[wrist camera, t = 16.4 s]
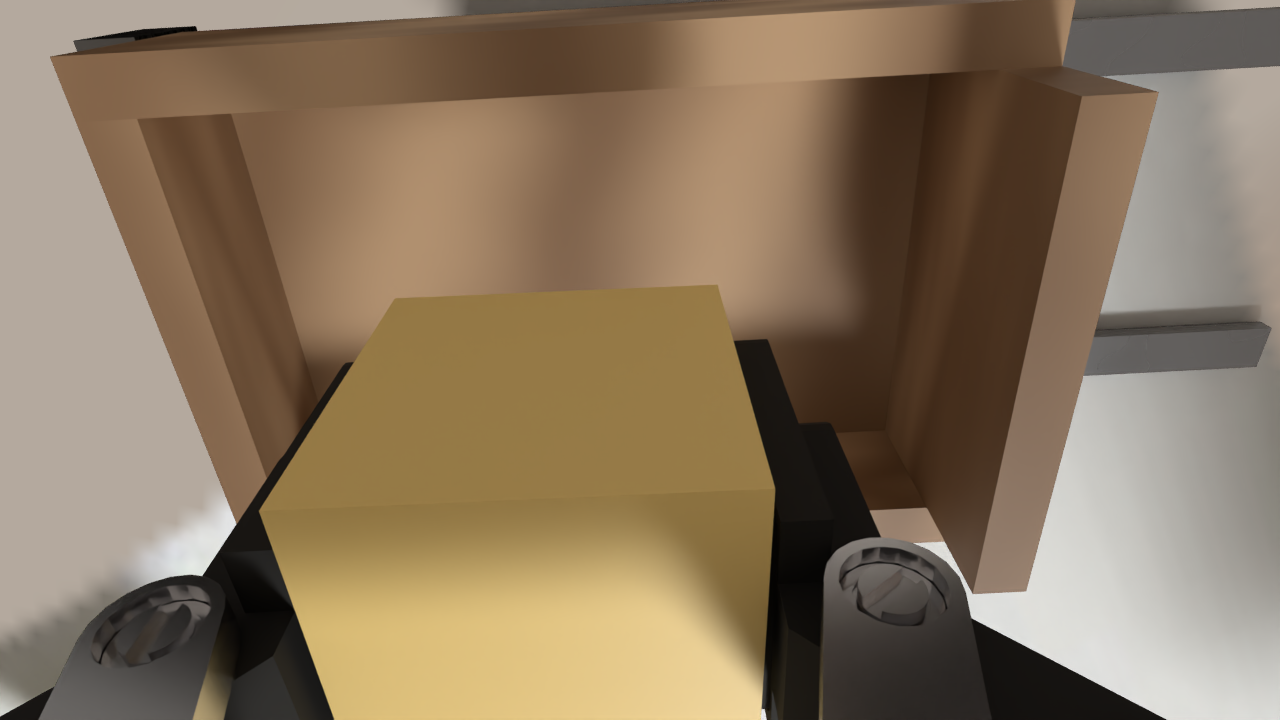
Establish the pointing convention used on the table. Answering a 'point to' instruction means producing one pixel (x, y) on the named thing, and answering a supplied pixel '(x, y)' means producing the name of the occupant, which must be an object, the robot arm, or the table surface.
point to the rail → (1106, 53)
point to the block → (535, 514)
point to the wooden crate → (649, 214)
